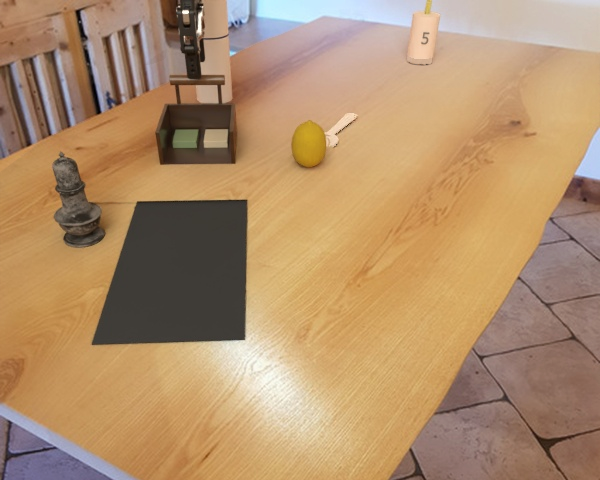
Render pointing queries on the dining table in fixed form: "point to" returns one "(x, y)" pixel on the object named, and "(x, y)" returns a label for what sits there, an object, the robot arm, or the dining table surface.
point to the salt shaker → (75, 206)
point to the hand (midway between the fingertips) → (196, 69)
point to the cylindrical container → (215, 52)
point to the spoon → (338, 129)
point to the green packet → (186, 138)
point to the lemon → (309, 144)
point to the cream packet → (216, 138)
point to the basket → (196, 125)
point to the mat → (179, 275)
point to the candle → (423, 33)
